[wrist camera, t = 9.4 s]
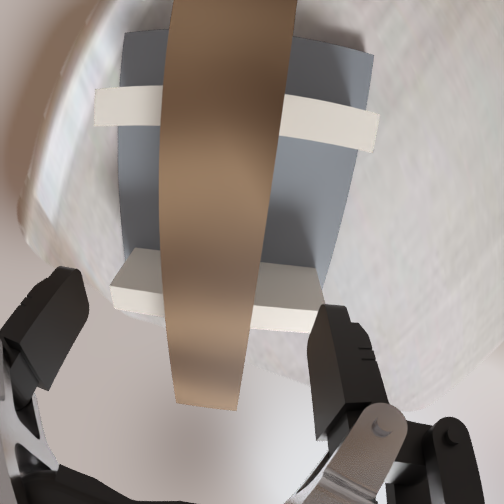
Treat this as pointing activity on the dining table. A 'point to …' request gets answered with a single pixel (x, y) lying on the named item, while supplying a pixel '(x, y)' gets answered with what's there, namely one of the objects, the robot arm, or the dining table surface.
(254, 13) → the brown wooden bar
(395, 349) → the dining table surface
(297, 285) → the ridge stand
